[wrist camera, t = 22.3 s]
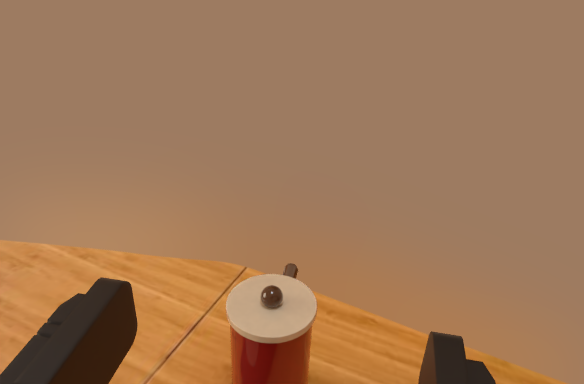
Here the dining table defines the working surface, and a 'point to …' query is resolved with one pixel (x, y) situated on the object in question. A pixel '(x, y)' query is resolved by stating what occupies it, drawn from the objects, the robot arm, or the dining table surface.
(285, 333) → the lidded canister
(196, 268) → the dining table surface
